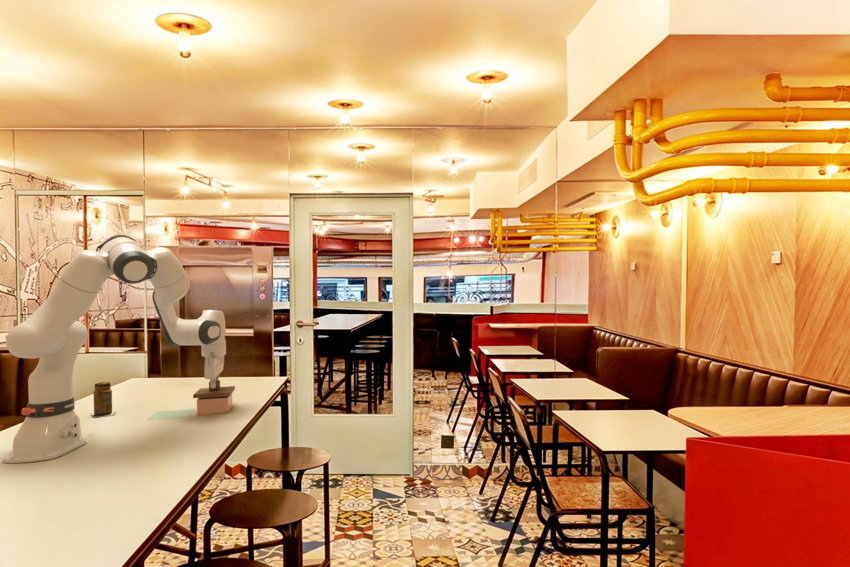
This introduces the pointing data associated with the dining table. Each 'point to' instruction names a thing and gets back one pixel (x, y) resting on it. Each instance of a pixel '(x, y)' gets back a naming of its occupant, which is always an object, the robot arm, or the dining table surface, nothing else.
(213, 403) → the pink rectangular planter
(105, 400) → the condiment
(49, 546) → the dining table surface
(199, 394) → the walnut lid
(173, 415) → the pale green square mat
